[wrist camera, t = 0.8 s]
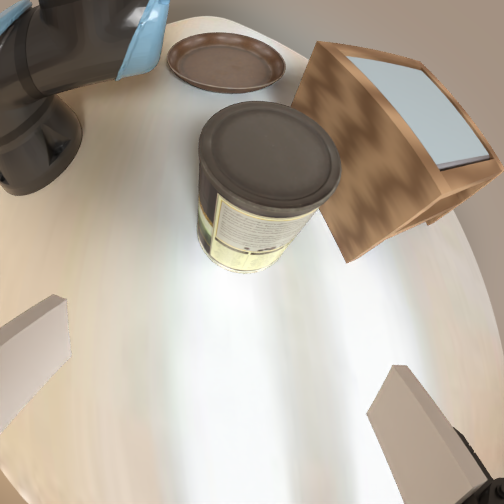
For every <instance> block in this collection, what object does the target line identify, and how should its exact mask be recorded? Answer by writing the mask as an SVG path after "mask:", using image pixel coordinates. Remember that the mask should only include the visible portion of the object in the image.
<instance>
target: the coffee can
mask: <svg viewBox="0 0 504 504" xmlns="http://www.w3.org/2000/svg"><path fill="white" fill-rule="evenodd" d="M199 160H200V163H199V199H198V223H197V234H198V239H199V242H200V245H201V247H202V249H203V251H204V252H205V254H206V255H207V256H208V257H209V259H210V260H212V261H213V262H214V263H215V264H217V265H218V266H220V267H222V268H224V269H226V270H228V271H232V272H236V273H243V274H247V273H255V272H259V271H262V270H264V269H266V268H268V267H270V266H271V265H272V264H274V263H275V262H276V261H277V260H278V259H279V258H280V256H281V255H282V253H283V252H284V250H285V249H286V248H287V247H288V245H289V244H290V243H291V242H292V241H293V239H294V238H295V237H296V236H297V235H298V233H299V232H300V231H301V230H302V228H303V227H304V226H305V225H306V223H307V222H308V221H309V220H310V218H311V217H312V216H313V215H314V213H315V212H316V211H317V210H318V208H319V207H320V206H321V205H322V204H324V203H325V202H326V201H327V200H328V199H329V198H330V197H331V196H332V195H333V193H334V192H335V191H336V189H337V187H338V184H339V182H340V178H341V172H342V167H341V160H340V155H339V152H338V150H337V148H336V146H335V144H334V142H333V140H332V139H331V137H330V136H329V134H328V133H327V132H326V131H325V130H324V129H323V128H322V127H321V126H320V125H319V124H318V123H317V122H315V121H314V120H313V119H311V118H310V117H308V116H307V115H305V114H304V113H302V112H300V111H298V110H296V109H294V108H291V107H288V106H285V105H282V104H278V103H273V102H265V101H247V102H241V103H237V104H233V105H230V106H228V107H226V108H224V109H222V110H220V111H219V112H217V113H216V114H214V115H213V116H212V117H211V118H210V119H209V120H208V121H207V123H206V124H205V126H204V127H203V129H202V132H201V134H200V138H199Z"/></svg>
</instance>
